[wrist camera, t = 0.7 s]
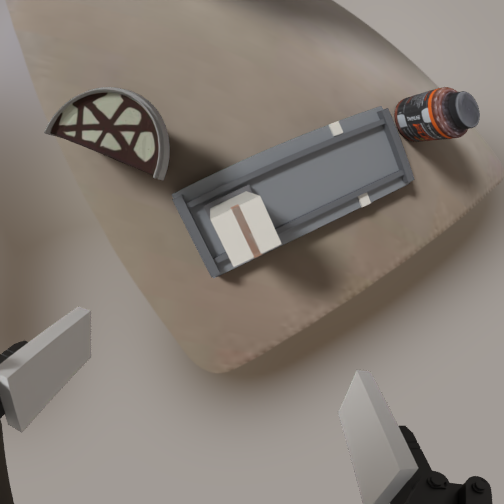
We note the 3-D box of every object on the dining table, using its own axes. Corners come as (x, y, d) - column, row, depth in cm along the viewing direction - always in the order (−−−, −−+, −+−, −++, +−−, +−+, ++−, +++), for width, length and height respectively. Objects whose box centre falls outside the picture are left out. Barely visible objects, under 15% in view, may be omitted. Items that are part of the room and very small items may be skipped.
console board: (173, 193, 34) (170, 194, 31) (373, 108, 35) (386, 104, 32) (213, 273, 37) (213, 281, 34) (401, 182, 37) (415, 183, 34)
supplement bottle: (389, 134, 36) (447, 125, 25) (394, 92, 34) (449, 72, 24) (425, 147, 37) (484, 144, 26) (429, 107, 35) (486, 95, 24)
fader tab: (203, 205, 33) (200, 216, 23) (247, 184, 33) (263, 186, 23) (224, 248, 34) (230, 275, 24) (267, 227, 34) (290, 247, 24)
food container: (197, 129, 33) (192, 110, 23) (173, 180, 34) (159, 180, 24) (102, 93, 30) (69, 67, 21) (80, 141, 31) (39, 131, 22)
